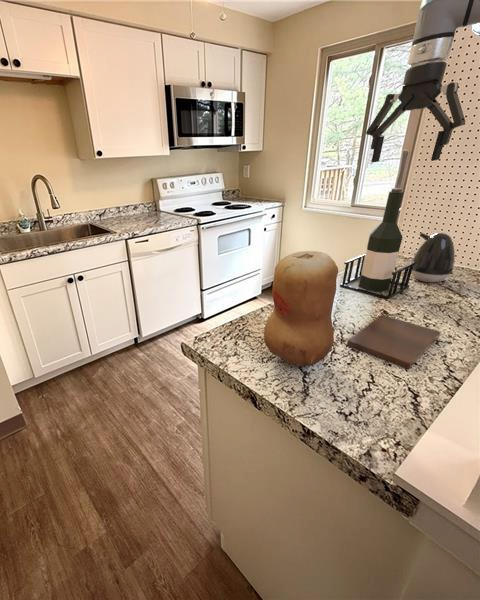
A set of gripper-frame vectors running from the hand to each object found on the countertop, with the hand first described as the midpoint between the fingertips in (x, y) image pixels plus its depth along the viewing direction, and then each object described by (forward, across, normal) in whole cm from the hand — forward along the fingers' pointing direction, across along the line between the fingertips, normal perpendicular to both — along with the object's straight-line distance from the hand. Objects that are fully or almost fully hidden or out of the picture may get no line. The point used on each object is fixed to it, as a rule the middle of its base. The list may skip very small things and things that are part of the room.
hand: (403, 161), depth 83 cm
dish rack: (+37, 0, +1) cm, 37 cm away
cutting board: (+37, +18, -28) cm, 50 cm away
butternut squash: (+37, +8, -51) cm, 64 cm away
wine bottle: (+37, 0, +1) cm, 37 cm away
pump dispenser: (+37, +8, +17) cm, 42 cm away
